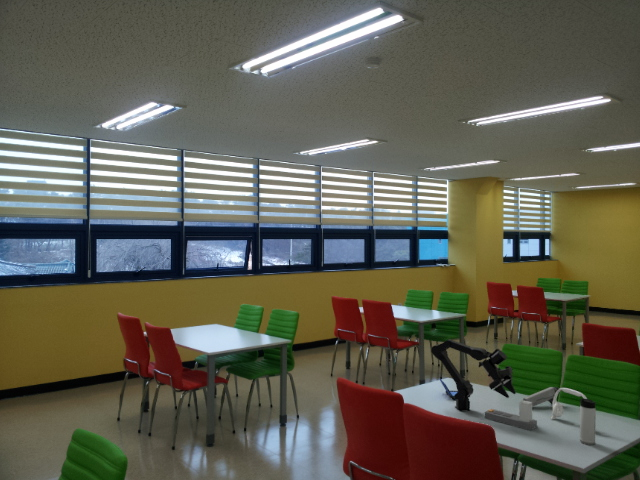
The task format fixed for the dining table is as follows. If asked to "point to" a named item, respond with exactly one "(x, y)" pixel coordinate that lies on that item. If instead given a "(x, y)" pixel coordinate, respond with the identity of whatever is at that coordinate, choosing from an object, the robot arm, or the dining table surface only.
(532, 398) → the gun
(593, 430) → the travel mug
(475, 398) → the dining table surface
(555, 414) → the headset
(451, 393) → the handheld game console
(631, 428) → the dining table surface
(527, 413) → the plain gray block
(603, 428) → the dining table surface
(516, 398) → the dining table surface
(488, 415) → the power strip
